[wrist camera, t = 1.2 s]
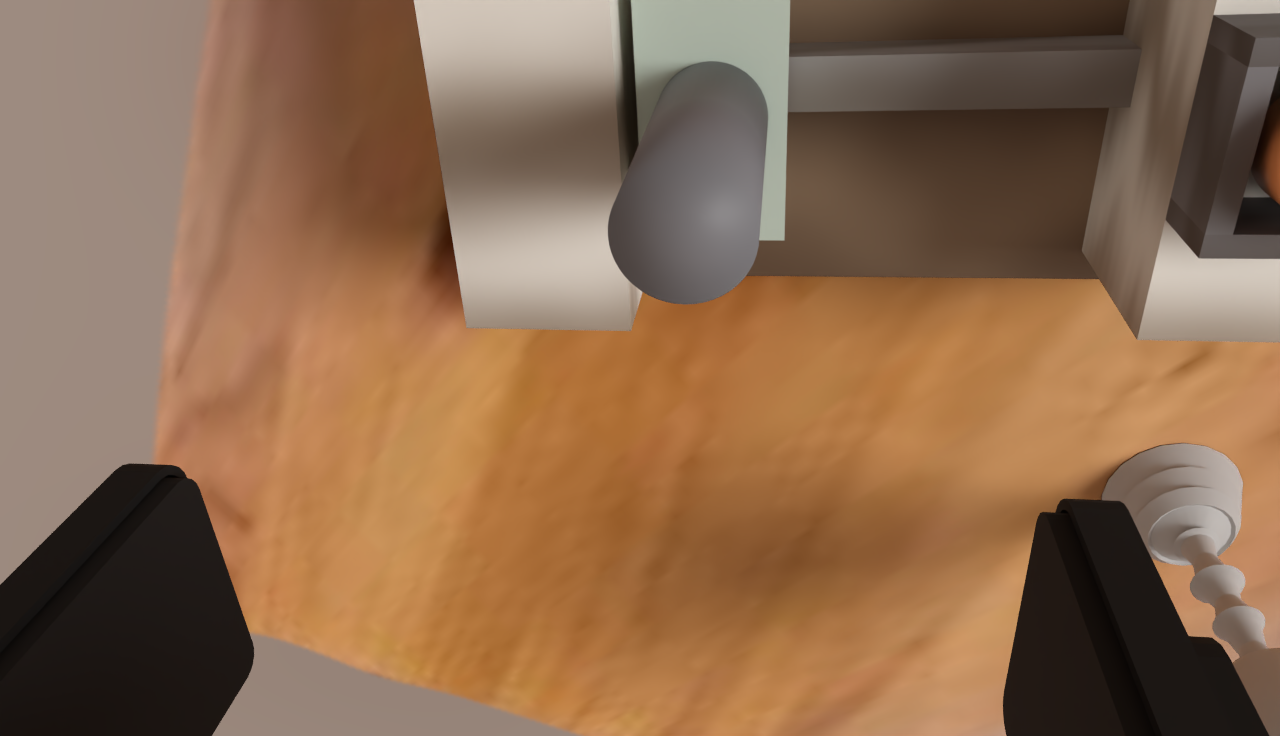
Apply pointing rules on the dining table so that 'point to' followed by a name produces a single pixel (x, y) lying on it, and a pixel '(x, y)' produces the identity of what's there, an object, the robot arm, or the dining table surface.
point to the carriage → (704, 145)
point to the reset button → (1269, 154)
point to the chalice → (1202, 549)
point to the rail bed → (889, 152)
